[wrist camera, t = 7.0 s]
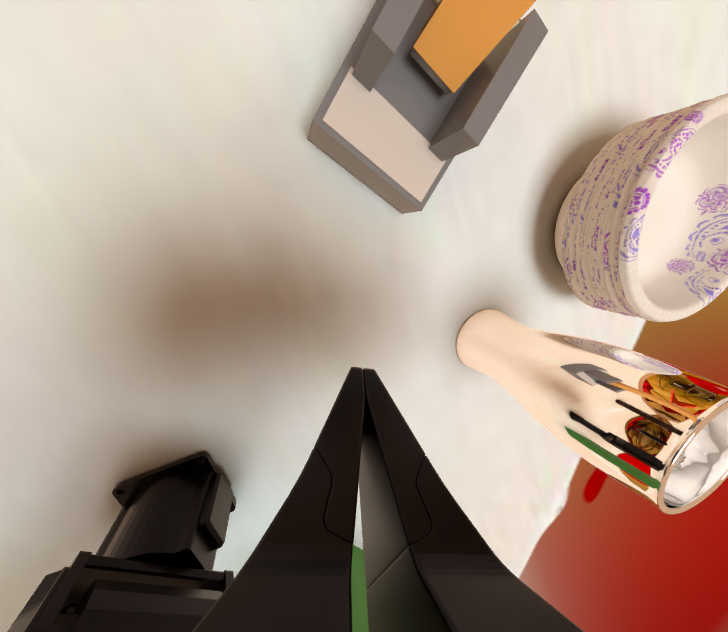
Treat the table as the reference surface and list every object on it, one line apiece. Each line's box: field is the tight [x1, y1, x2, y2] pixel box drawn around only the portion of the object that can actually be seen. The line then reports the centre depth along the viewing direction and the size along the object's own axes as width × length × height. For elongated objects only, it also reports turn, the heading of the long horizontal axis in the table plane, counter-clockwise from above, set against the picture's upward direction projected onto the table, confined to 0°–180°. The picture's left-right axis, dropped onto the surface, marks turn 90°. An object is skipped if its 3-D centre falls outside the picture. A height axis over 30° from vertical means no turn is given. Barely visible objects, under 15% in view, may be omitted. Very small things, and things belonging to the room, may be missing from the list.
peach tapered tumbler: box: [456, 309, 728, 514], centre depth 19 cm, size 7×7×15 cm
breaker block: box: [308, 0, 548, 214], centre depth 15 cm, size 12×8×6 cm, turn 145°
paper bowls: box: [555, 94, 728, 322], centre depth 22 cm, size 15×15×8 cm
